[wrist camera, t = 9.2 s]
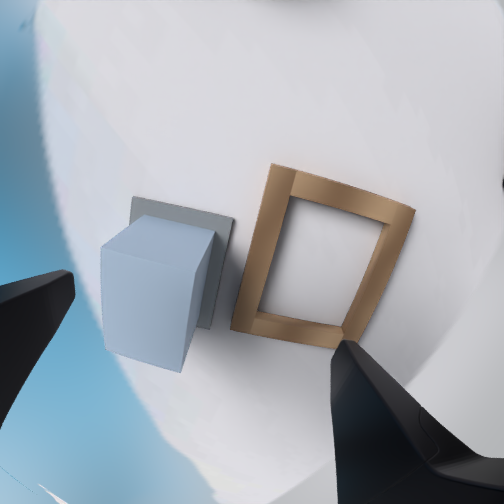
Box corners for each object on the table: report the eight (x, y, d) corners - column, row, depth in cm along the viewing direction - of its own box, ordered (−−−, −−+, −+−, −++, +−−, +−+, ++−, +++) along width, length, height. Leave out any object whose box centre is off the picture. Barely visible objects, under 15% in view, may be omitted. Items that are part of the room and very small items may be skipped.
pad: (233, 217, 19) (232, 219, 18) (210, 327, 22) (209, 329, 22) (133, 196, 18) (132, 197, 18) (127, 305, 22) (125, 306, 21)
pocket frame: (409, 206, 18) (415, 210, 17) (350, 343, 22) (352, 351, 21) (271, 163, 17) (271, 164, 16) (231, 321, 22) (229, 329, 21)
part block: (215, 230, 19) (195, 272, 13) (198, 317, 21) (180, 373, 16) (144, 214, 18) (100, 247, 13) (137, 300, 21) (105, 349, 16)
